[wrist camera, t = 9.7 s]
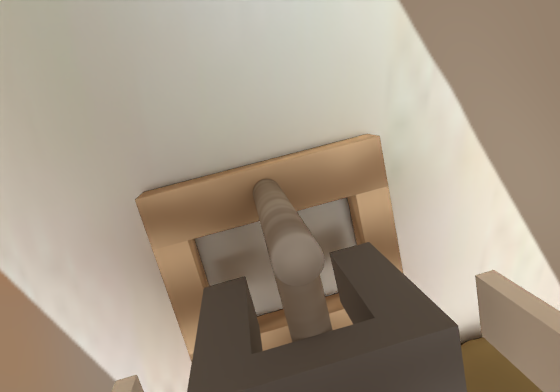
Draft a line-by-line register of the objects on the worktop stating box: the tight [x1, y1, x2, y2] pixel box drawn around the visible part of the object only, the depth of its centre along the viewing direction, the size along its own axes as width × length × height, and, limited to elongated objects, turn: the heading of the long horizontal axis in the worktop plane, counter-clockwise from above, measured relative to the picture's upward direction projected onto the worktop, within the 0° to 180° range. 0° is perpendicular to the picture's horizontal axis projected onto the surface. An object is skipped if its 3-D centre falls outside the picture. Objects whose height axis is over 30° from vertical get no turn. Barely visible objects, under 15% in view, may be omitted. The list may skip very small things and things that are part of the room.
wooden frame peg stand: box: [135, 134, 403, 361], centre depth 18 cm, size 13×14×12 cm
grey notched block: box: [187, 242, 467, 392], centre depth 16 cm, size 9×3×8 cm, turn 104°
